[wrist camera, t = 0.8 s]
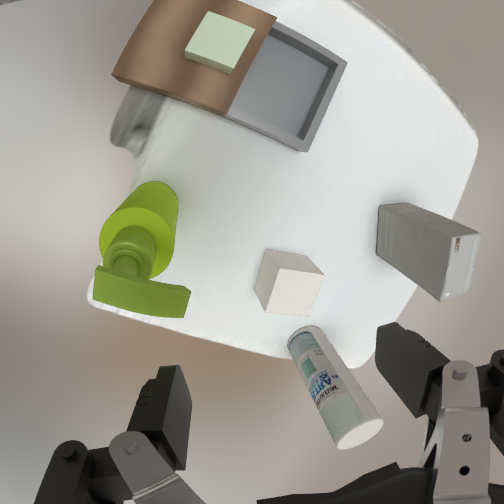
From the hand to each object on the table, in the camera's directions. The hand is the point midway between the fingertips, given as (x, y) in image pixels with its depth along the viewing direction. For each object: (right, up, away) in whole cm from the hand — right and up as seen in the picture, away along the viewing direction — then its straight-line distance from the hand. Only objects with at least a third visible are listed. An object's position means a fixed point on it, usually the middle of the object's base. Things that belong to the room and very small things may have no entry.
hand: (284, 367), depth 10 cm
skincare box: (+20, +8, +30) cm, 37 cm away
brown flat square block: (-8, +27, +15) cm, 32 cm away
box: (+2, +24, +19) cm, 31 cm away
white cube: (+3, +2, +29) cm, 29 cm away
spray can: (+7, -10, +35) cm, 37 cm away
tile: (-5, +25, +12) cm, 28 cm away
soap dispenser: (-12, +10, +22) cm, 27 cm away
